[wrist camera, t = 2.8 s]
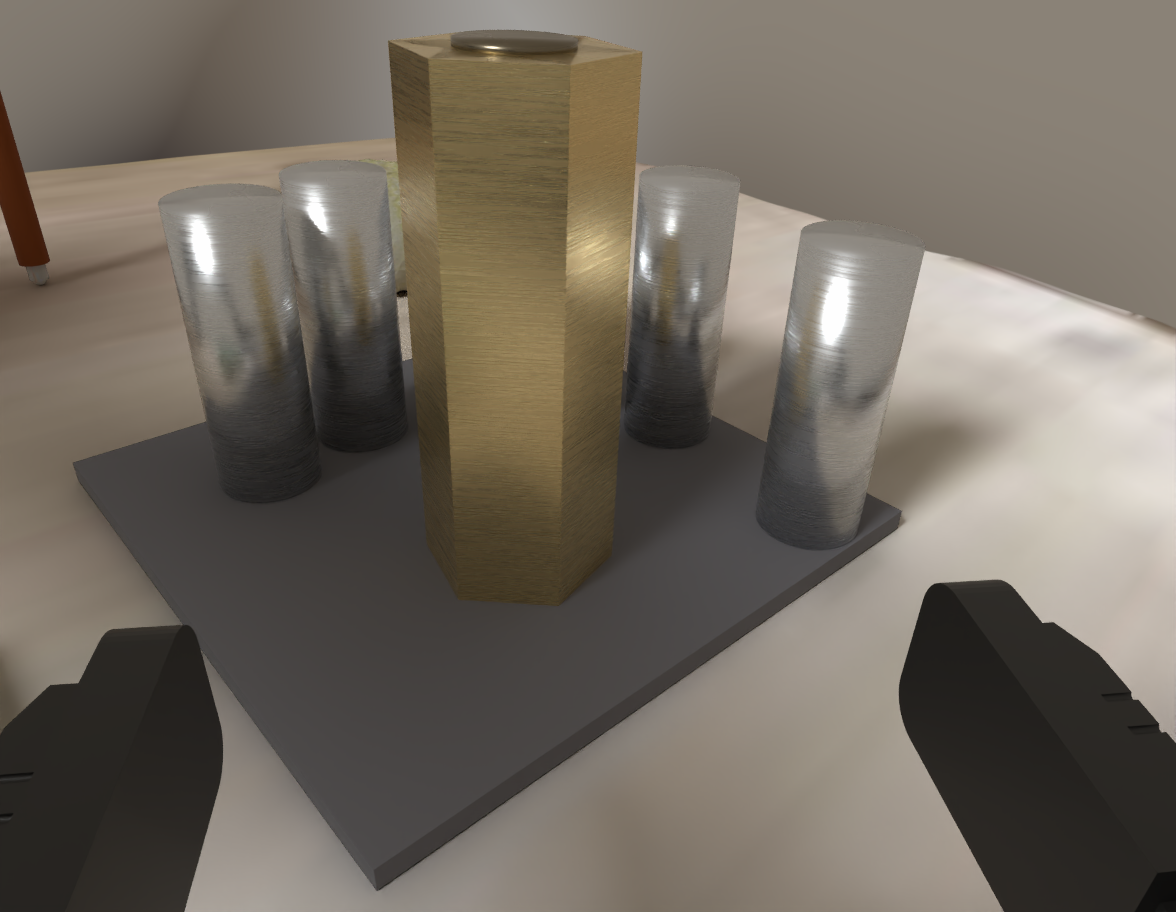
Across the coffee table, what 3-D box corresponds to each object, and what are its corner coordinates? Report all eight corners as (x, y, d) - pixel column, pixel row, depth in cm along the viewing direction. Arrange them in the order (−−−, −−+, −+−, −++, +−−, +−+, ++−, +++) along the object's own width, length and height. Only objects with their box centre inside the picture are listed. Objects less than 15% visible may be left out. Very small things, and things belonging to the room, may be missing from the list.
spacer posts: (175, 441, 27) (110, 175, 23) (535, 328, 35) (536, 117, 31) (497, 781, 17) (485, 415, 13) (896, 510, 25) (970, 234, 21)
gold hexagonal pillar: (634, 582, 22) (676, 51, 16) (476, 631, 20) (451, 59, 14) (552, 484, 26) (560, 21, 19) (412, 519, 24) (369, 24, 18)
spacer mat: (78, 480, 26) (72, 462, 26) (528, 336, 36) (528, 322, 36) (377, 890, 16) (373, 869, 15) (897, 528, 25) (902, 511, 25)
